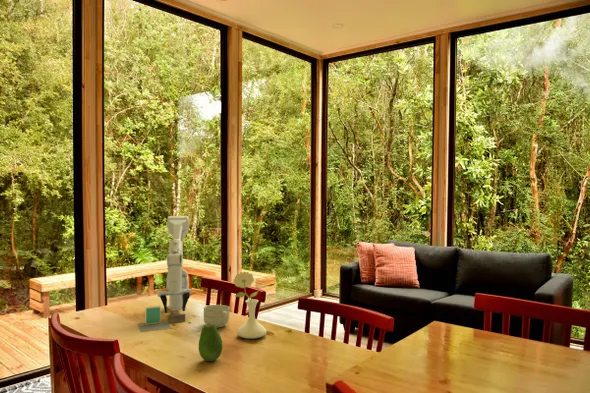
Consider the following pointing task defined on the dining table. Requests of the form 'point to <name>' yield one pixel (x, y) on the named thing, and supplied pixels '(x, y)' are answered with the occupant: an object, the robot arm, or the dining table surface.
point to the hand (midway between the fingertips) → (174, 311)
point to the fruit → (210, 343)
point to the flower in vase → (251, 326)
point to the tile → (152, 314)
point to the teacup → (216, 315)
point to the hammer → (176, 316)
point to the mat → (154, 326)
